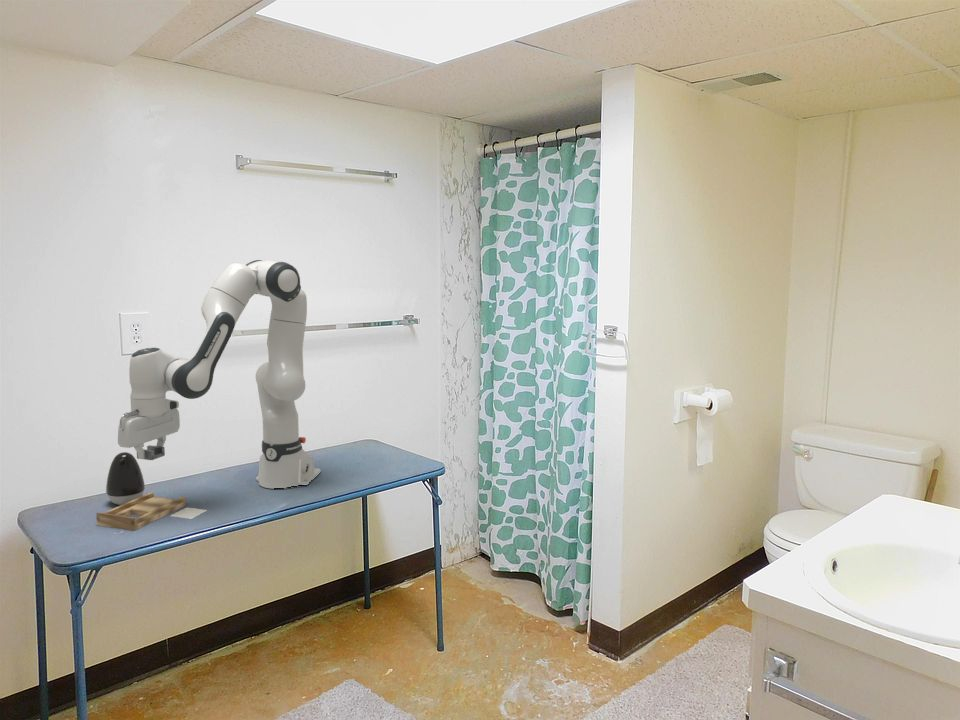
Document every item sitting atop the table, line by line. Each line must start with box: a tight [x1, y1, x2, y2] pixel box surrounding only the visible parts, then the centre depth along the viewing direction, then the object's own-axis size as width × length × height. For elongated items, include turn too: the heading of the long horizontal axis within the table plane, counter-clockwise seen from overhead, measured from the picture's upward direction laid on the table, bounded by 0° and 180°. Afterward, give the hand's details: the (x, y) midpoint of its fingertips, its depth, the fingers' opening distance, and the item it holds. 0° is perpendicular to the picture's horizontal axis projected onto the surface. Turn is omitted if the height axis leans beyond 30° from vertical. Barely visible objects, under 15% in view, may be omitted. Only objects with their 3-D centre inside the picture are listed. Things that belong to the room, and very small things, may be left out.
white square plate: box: [170, 507, 208, 520], centre depth 197 cm, size 7×7×1 cm
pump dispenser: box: [105, 451, 146, 506], centre depth 206 cm, size 10×10×15 cm
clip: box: [136, 444, 166, 461], centre depth 196 cm, size 5×5×2 cm
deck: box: [95, 491, 187, 531], centre depth 195 cm, size 20×12×4 cm, turn 164°
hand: (150, 455), depth 196 cm, fingers closed on clip, 5 cm apart
